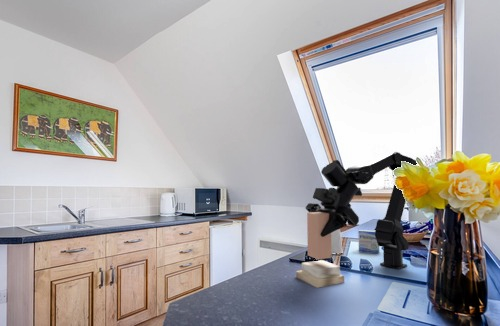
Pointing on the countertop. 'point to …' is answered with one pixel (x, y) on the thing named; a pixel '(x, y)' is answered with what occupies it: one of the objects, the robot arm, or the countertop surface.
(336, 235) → the cosmetic bottle
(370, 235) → the medicine box
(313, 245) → the pillar
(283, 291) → the countertop surface
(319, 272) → the tower top slab
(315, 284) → the tower base slab
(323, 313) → the countertop surface
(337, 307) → the countertop surface
